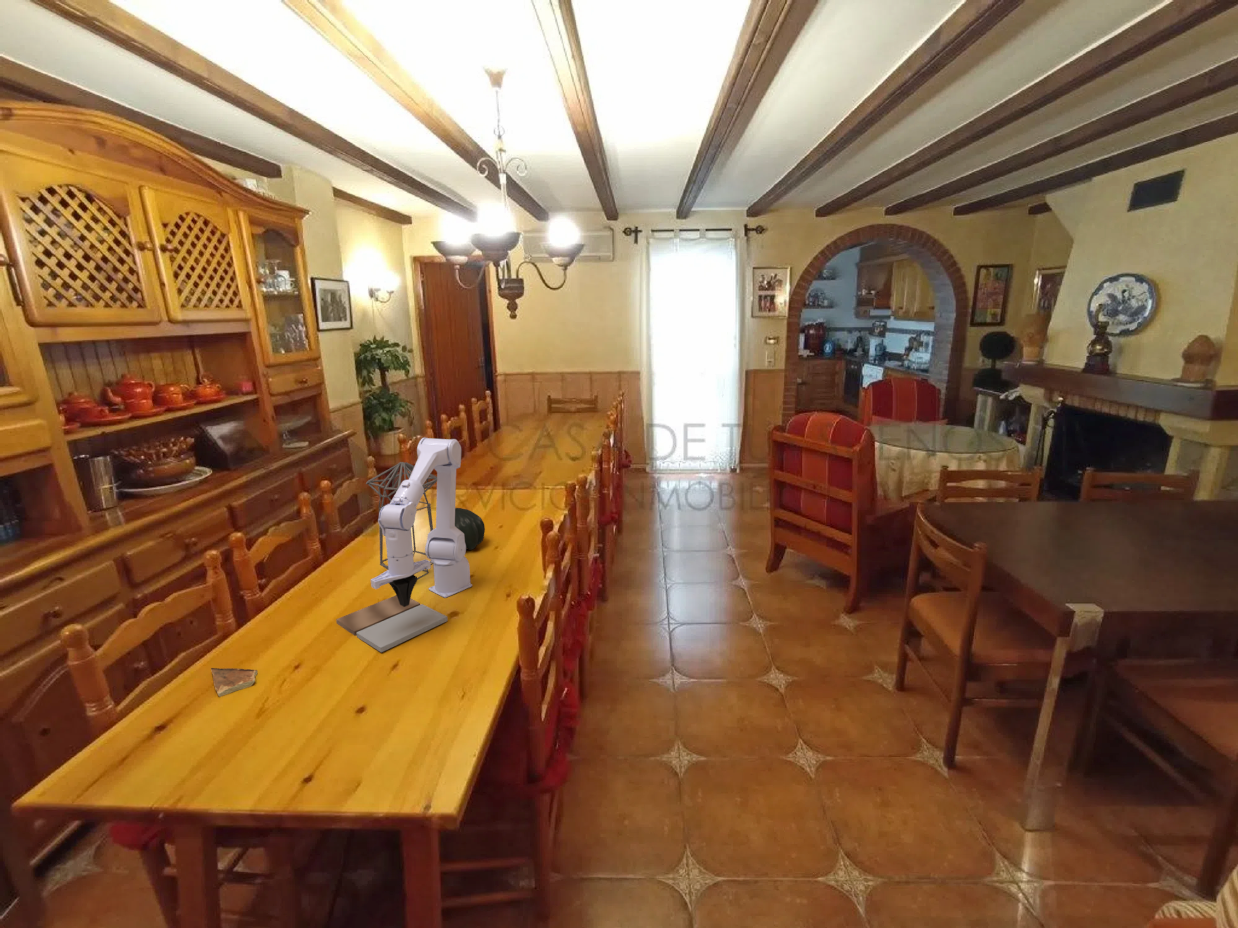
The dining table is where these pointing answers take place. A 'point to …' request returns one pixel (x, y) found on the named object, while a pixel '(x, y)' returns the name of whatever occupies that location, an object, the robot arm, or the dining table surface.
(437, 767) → the dining table surface
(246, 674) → the shard
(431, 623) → the grey plank
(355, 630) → the walnut board
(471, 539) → the squash
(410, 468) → the geometric lantern
